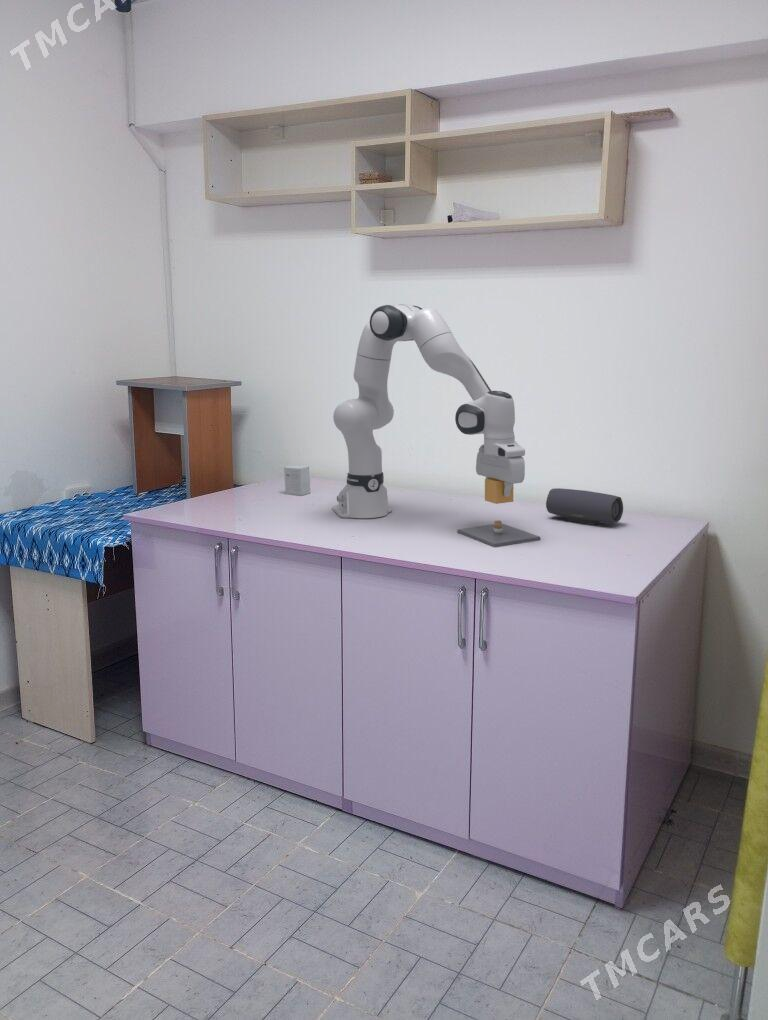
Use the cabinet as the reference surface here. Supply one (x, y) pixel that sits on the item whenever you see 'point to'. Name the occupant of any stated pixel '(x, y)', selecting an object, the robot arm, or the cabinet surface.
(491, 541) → the plate
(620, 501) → the bluetooth speaker
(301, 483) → the small box
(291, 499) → the cabinet surface
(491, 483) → the wooden cube
